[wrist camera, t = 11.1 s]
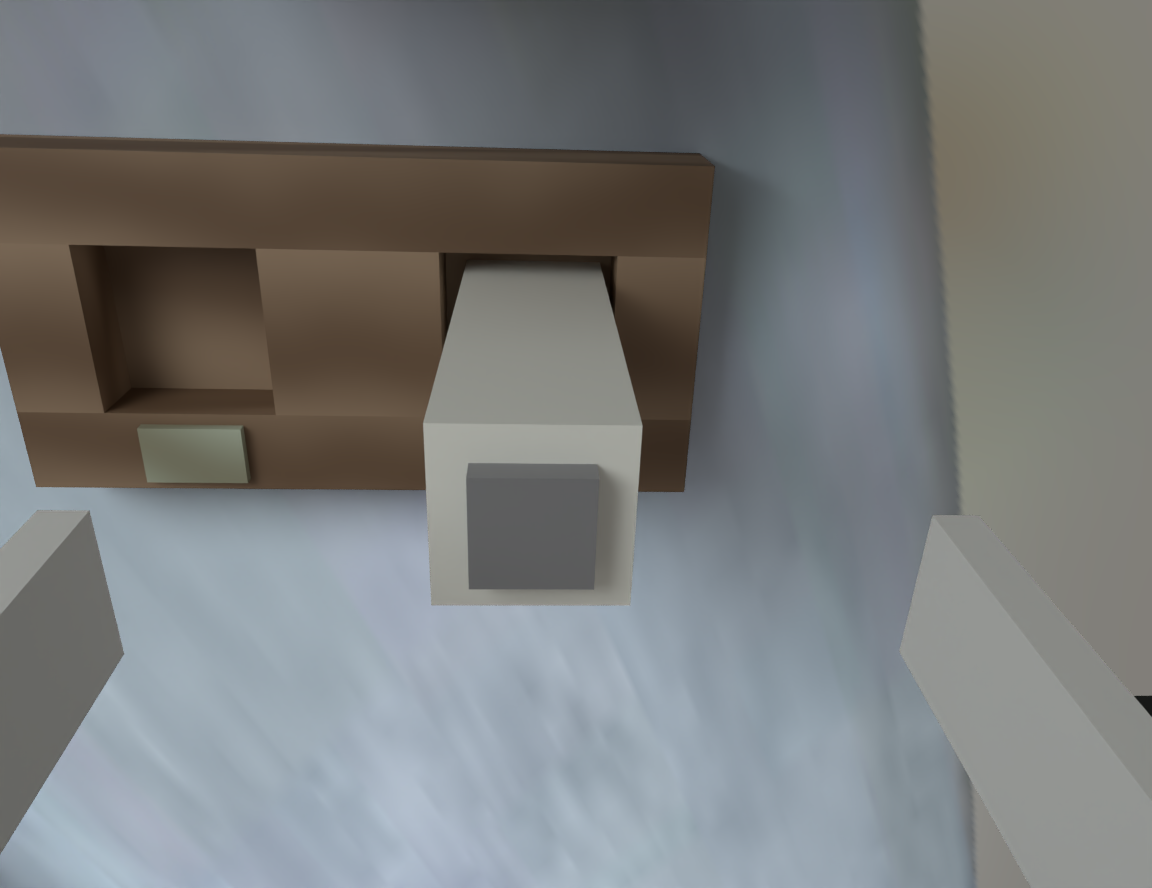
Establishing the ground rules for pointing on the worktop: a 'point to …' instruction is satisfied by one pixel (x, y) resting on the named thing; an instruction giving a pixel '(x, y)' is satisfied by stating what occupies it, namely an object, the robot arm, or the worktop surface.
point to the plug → (532, 442)
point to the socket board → (311, 298)
